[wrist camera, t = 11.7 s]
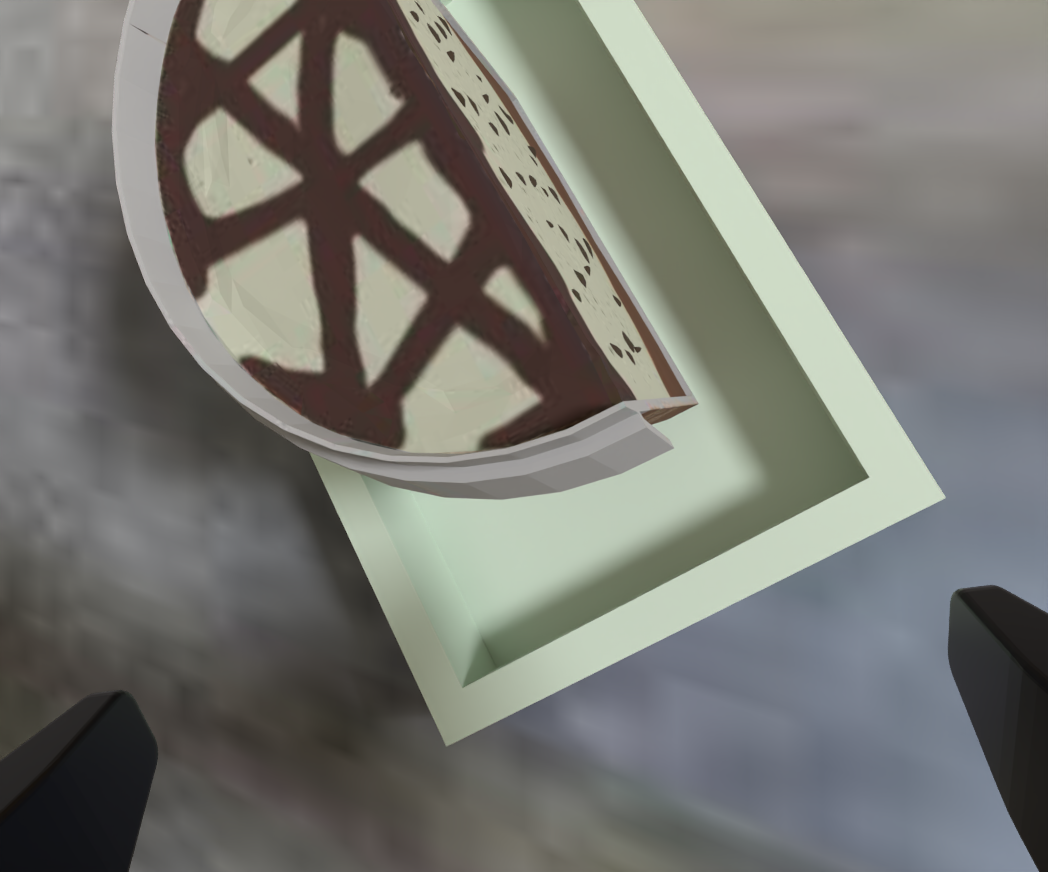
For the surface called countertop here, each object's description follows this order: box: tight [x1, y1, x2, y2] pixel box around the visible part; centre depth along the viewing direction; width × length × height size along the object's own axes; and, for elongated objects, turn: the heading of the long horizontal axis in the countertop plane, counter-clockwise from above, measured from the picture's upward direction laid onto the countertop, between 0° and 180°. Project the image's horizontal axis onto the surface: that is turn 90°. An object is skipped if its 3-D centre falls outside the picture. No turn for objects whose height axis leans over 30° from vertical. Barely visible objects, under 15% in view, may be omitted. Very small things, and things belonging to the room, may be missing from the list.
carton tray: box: [309, 0, 946, 747], centre depth 21 cm, size 18×12×3 cm, turn 29°
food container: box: [112, 0, 699, 500], centre depth 18 cm, size 12×6×10 cm, turn 30°
